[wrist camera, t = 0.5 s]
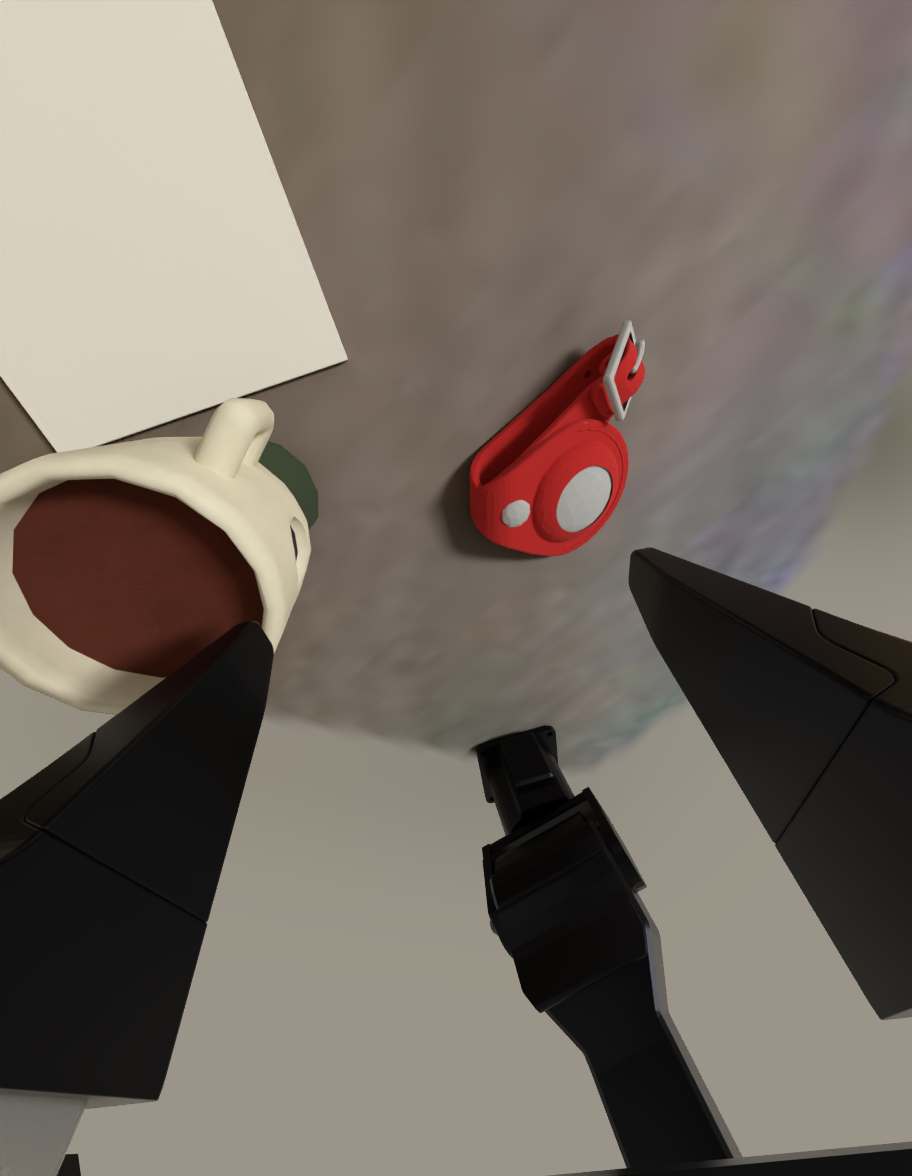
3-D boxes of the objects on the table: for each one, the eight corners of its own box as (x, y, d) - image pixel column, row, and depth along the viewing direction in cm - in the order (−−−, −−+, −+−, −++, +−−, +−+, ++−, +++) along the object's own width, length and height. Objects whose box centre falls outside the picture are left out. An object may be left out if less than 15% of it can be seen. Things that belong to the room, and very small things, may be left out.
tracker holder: (631, 543, 26) (498, 592, 23) (584, 515, 29) (462, 555, 26) (688, 319, 18) (501, 346, 15) (617, 314, 22) (450, 335, 18)
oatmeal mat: (348, 360, 20) (347, 359, 19) (67, 456, 19) (61, 457, 19) (132, -209, 12) (125, -228, 12) (-332, -85, 12) (-354, -99, 11)
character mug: (279, 606, 24) (196, 794, 12) (147, 549, 21) (-117, 723, 10) (368, 443, 21) (369, 491, 10) (230, 355, 19) (4, 275, 7)
